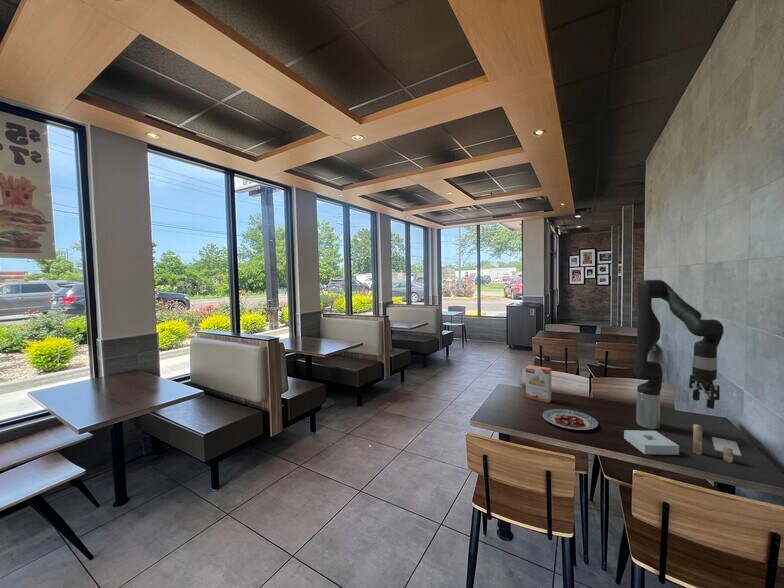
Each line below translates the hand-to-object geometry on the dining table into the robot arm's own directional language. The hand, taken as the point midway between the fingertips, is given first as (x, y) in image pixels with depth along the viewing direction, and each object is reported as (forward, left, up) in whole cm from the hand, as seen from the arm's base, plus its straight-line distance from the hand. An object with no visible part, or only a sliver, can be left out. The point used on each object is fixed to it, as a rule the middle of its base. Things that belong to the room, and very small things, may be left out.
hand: (702, 404), depth 138 cm
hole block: (-7, -16, -22) cm, 28 cm away
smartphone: (-8, +17, -23) cm, 30 cm away
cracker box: (-65, -44, -23) cm, 82 cm away
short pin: (+4, +7, -22) cm, 24 cm away
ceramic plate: (-32, -40, -23) cm, 56 cm away
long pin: (-2, 0, -22) cm, 22 cm away
